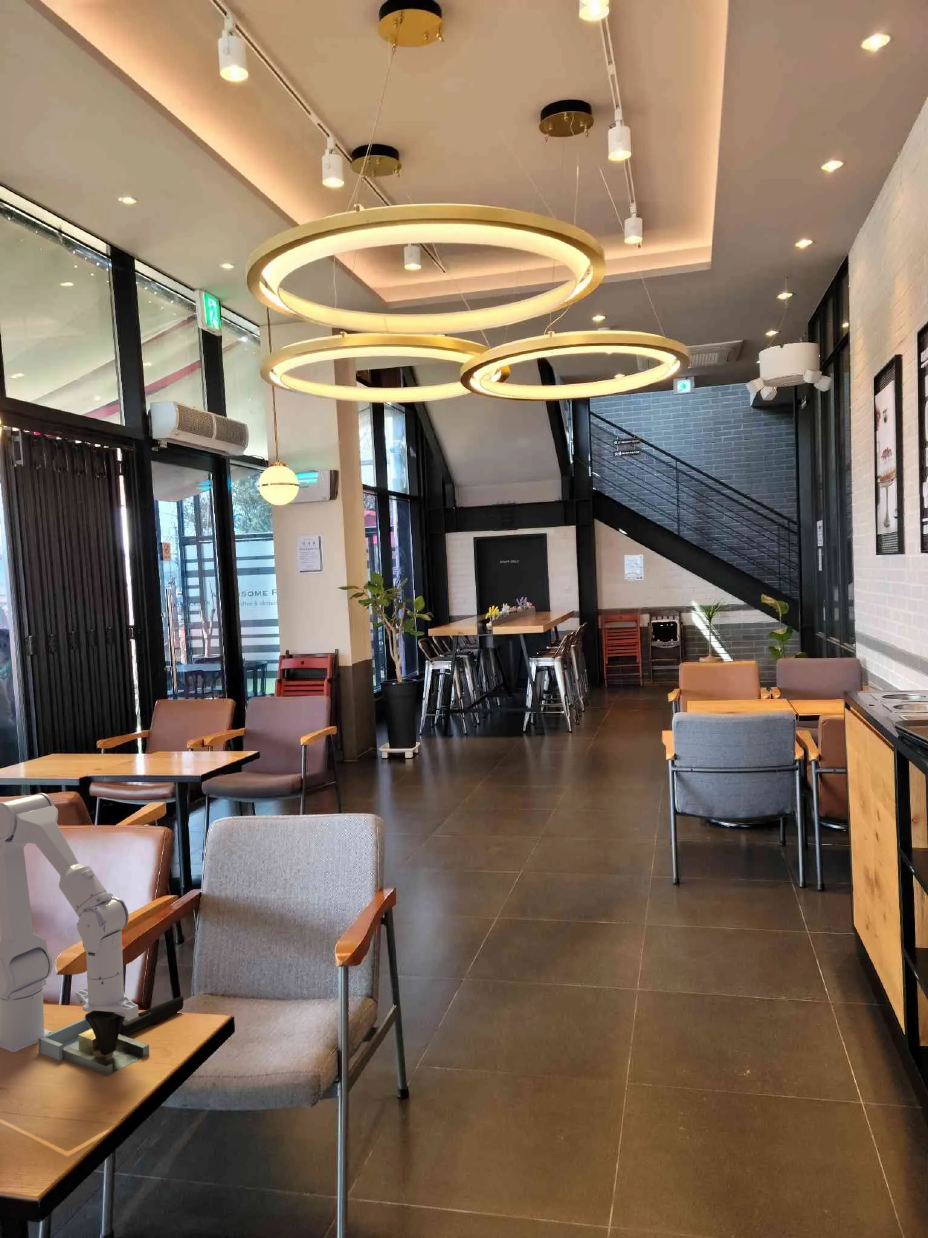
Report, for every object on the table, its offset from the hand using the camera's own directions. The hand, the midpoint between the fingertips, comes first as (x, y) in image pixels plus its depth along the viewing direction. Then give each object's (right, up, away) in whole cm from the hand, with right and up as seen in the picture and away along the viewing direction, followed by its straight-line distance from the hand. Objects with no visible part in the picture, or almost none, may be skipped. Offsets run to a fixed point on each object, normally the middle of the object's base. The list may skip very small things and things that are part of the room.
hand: (108, 1052), depth 153 cm
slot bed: (0, -1, 0) cm, 2 cm away
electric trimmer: (+2, -1, +12) cm, 12 cm away
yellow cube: (-3, -1, +2) cm, 3 cm away
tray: (-8, -2, +5) cm, 10 cm away
